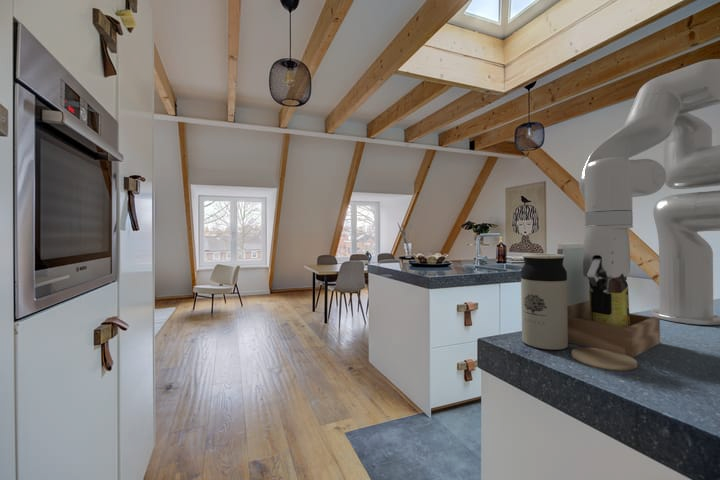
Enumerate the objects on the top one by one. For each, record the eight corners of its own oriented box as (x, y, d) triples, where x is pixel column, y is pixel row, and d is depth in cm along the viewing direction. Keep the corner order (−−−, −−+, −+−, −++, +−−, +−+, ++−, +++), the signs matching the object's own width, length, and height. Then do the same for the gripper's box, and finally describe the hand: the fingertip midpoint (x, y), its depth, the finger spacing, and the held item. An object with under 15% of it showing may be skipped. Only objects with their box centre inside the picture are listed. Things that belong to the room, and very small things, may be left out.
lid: (591, 328, 74) (590, 242, 73) (596, 329, 73) (595, 242, 73) (557, 340, 66) (556, 244, 66) (563, 342, 65) (561, 244, 65)
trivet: (585, 347, 62) (585, 344, 62) (645, 362, 54) (645, 358, 54) (562, 357, 57) (562, 354, 57) (624, 375, 49) (624, 371, 49)
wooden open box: (590, 328, 73) (590, 298, 73) (659, 342, 63) (659, 307, 63) (559, 340, 66) (559, 306, 66) (632, 358, 56) (631, 318, 56)
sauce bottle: (638, 349, 60) (636, 244, 60) (600, 348, 61) (599, 244, 61) (617, 338, 66) (616, 243, 66) (584, 337, 68) (582, 244, 67)
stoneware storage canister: (542, 336, 69) (541, 253, 69) (577, 348, 61) (576, 254, 61) (513, 340, 66) (511, 254, 66) (546, 353, 59) (545, 256, 59)
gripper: (604, 222, 71) (605, 302, 71) (565, 221, 62) (567, 313, 62) (648, 220, 65) (649, 308, 65) (611, 219, 56) (613, 321, 56)
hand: (609, 310), depth 64 cm, fingers closed on sauce bottle, 6 cm apart
